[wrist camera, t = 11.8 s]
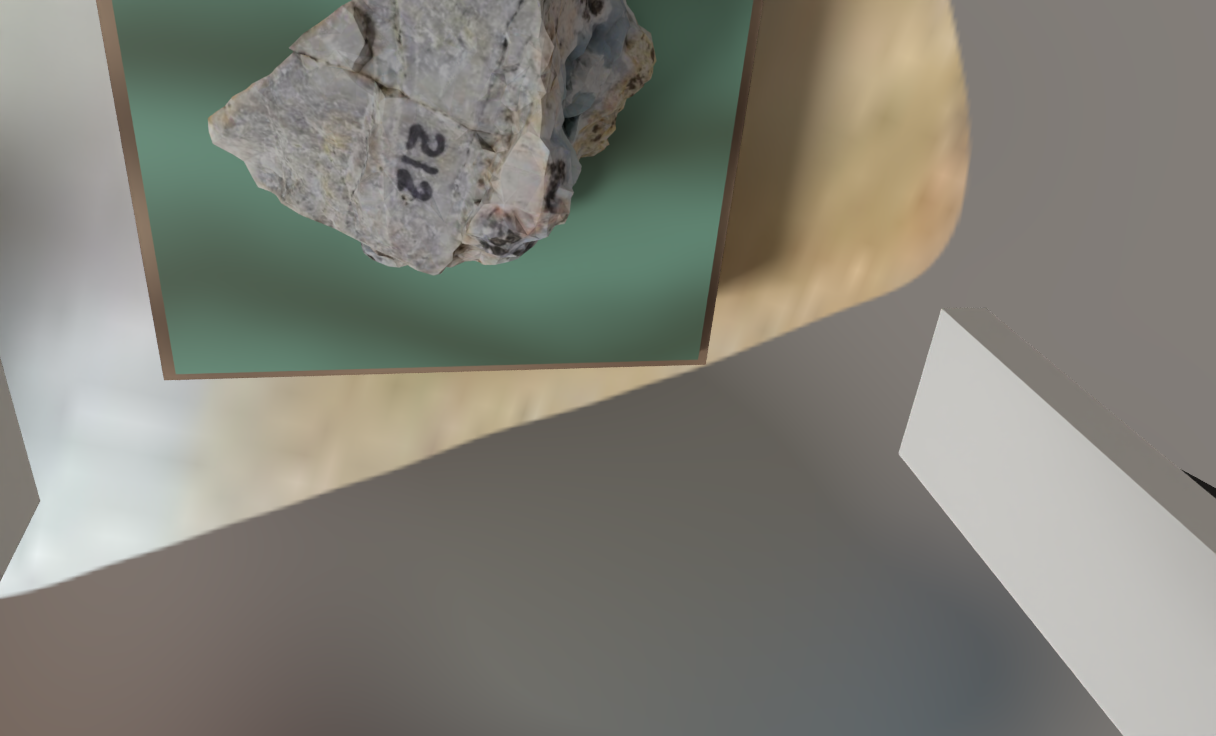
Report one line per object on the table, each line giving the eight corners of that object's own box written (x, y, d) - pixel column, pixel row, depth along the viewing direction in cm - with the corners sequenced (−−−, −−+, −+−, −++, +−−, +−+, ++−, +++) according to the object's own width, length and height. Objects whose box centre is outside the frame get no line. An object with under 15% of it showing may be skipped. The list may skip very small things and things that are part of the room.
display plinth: (92, -300, 24) (31, -323, 20) (744, -224, 28) (807, -231, 24) (189, 315, 33) (160, 388, 29) (673, 307, 37) (709, 371, 33)
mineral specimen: (499, 117, 32) (379, -196, 24) (716, 146, 28) (656, -210, 21) (334, 325, 27) (122, 18, 20) (570, 391, 24) (423, 47, 16)
